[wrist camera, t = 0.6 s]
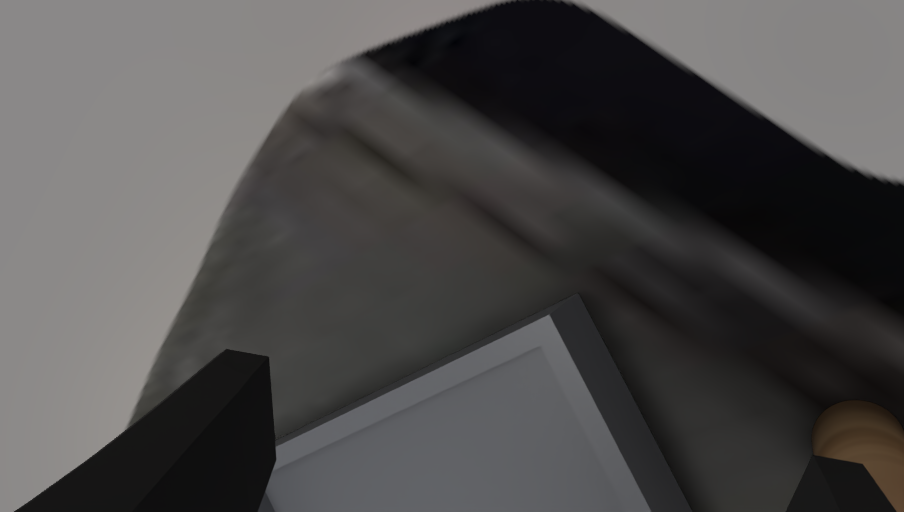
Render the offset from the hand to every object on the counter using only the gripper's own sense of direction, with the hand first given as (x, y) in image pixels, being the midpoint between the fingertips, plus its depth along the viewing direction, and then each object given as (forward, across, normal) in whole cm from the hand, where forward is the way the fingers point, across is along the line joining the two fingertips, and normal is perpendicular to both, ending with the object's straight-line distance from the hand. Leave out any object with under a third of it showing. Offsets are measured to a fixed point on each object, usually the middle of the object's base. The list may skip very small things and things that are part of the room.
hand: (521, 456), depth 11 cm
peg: (+15, -12, +12) cm, 22 cm away
